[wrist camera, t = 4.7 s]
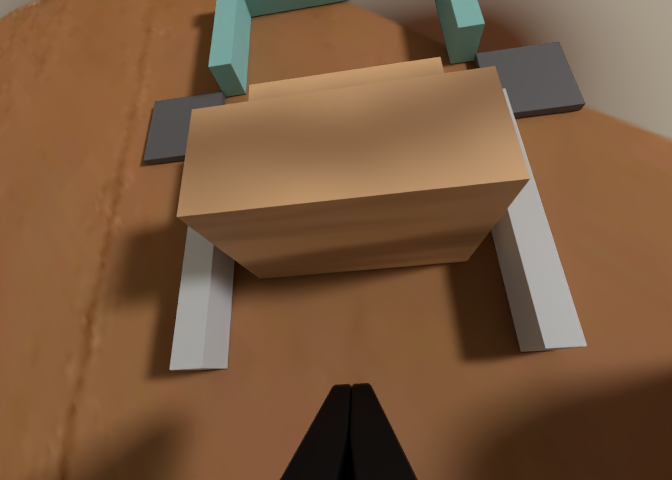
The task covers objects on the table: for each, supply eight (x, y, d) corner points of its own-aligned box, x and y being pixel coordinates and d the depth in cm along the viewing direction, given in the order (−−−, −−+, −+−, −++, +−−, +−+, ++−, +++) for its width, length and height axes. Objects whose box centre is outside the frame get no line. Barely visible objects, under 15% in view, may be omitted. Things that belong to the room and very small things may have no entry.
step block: (466, 261, 17) (530, 178, 10) (260, 279, 18) (176, 217, 11) (432, 97, 21) (459, -49, 14) (266, 120, 22) (208, -3, 15)
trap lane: (677, 342, 14) (747, 336, 12) (107, 375, 17) (55, 376, 14) (517, -43, 25) (534, -95, 22) (176, 17, 27) (153, -22, 25)
